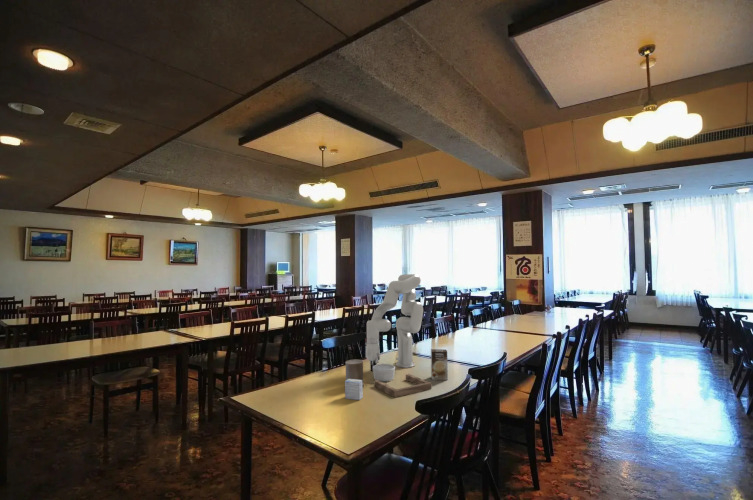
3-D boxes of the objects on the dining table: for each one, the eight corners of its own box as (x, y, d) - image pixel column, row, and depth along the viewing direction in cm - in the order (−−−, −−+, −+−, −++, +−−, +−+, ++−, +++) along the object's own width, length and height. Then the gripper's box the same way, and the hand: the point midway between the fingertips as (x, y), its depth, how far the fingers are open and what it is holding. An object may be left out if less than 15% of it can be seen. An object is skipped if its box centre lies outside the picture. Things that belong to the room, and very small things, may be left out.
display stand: (374, 386, 195) (374, 380, 195) (408, 379, 206) (408, 373, 207) (395, 397, 177) (395, 391, 177) (431, 388, 189) (431, 383, 189)
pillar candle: (367, 386, 194) (366, 358, 195) (354, 391, 187) (353, 362, 188) (355, 383, 201) (354, 356, 202) (341, 387, 194) (341, 359, 195)
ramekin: (388, 383, 199) (387, 371, 199) (368, 380, 206) (368, 368, 206) (399, 377, 210) (399, 365, 210) (380, 374, 217) (380, 362, 217)
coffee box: (431, 380, 204) (431, 351, 205) (431, 376, 210) (430, 349, 211) (448, 380, 203) (447, 351, 204) (447, 376, 209) (446, 349, 210)
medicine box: (363, 397, 178) (362, 379, 178) (359, 400, 174) (359, 382, 174) (348, 395, 180) (348, 378, 181) (344, 399, 176) (344, 381, 177)
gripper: (361, 339, 224) (362, 369, 223) (373, 343, 211) (374, 375, 210) (372, 338, 228) (372, 367, 227) (384, 342, 215) (385, 373, 214)
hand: (373, 371), depth 218 cm, fingers closed
